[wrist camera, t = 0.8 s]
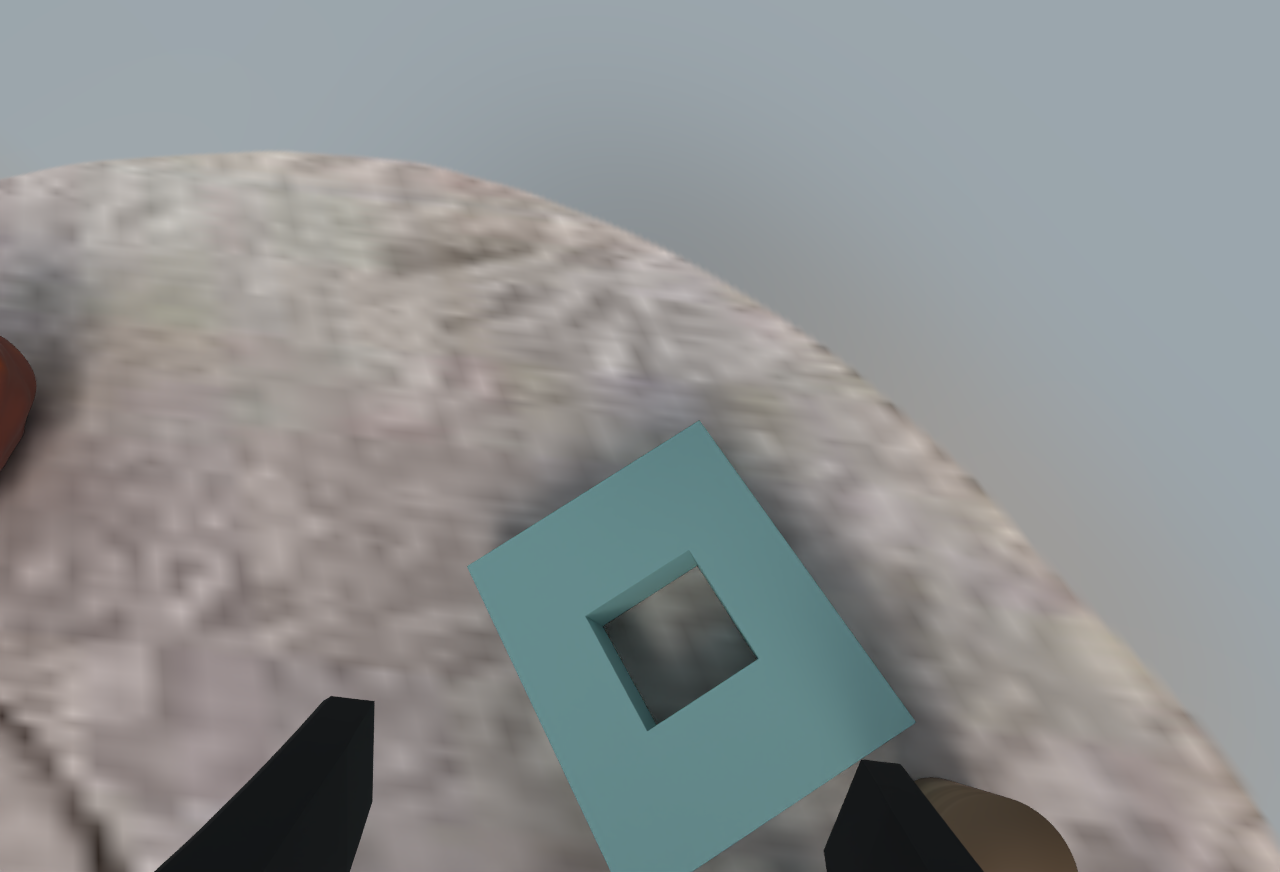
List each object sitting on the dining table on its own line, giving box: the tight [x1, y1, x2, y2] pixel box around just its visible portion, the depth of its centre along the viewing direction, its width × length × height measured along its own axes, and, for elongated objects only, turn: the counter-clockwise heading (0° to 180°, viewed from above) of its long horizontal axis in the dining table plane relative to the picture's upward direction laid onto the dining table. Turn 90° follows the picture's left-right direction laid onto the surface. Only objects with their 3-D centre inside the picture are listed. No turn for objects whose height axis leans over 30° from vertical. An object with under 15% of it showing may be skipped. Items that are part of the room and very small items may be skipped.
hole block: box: [467, 420, 916, 872], centre depth 24 cm, size 12×10×2 cm
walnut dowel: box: [914, 777, 1078, 872], centre depth 18 cm, size 3×3×7 cm
